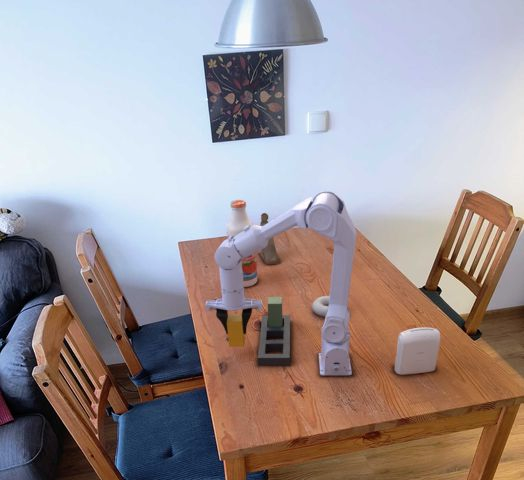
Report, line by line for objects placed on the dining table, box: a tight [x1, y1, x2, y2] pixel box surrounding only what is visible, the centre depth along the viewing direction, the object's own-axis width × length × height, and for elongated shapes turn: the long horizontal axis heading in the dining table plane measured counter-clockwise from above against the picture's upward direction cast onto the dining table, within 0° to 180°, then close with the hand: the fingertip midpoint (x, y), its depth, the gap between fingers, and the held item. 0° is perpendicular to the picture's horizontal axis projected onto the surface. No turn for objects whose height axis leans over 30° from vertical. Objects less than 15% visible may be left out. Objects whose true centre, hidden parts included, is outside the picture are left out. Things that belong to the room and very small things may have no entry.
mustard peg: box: [227, 313, 246, 348], centre depth 129 cm, size 4×4×8 cm
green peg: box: [267, 296, 284, 327], centre depth 139 cm, size 4×4×10 cm
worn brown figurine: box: [259, 212, 280, 266], centre depth 180 cm, size 12×6×18 cm, turn 11°
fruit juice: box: [225, 199, 258, 288], centre depth 160 cm, size 9×9×28 cm
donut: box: [312, 295, 330, 318], centre depth 148 cm, size 10×4×10 cm
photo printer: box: [394, 326, 441, 376], centre depth 120 cm, size 10×4×12 cm, turn 96°
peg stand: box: [257, 314, 291, 366], centre depth 136 cm, size 22×8×2 cm, turn 177°
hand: (236, 332), depth 129 cm, fingers closed on mustard peg, 4 cm apart
